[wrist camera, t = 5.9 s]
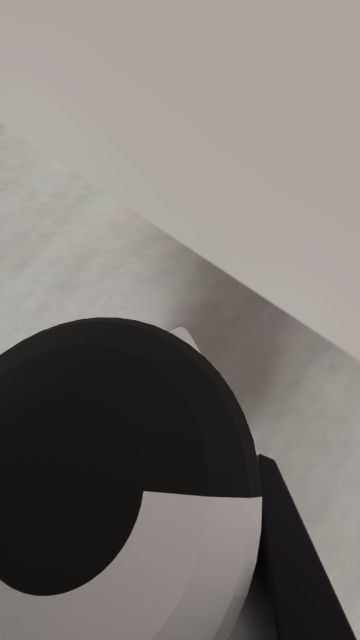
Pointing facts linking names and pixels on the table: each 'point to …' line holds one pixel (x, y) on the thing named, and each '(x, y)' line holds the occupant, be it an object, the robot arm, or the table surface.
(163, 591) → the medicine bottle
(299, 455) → the table surface
